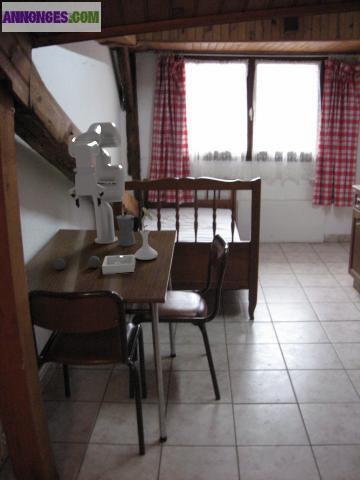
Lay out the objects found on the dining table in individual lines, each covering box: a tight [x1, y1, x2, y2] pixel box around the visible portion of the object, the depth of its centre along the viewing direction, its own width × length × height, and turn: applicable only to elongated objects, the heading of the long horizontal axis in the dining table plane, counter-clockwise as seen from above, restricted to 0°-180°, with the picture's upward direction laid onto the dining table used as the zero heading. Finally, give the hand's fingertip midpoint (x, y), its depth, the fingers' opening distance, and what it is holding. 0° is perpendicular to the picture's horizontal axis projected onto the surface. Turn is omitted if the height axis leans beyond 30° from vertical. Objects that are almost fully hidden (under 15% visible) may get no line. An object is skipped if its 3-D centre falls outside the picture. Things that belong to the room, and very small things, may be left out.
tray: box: [101, 254, 136, 275], centre depth 220 cm, size 14×14×4 cm
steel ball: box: [113, 254, 125, 265], centre depth 219 cm, size 6×6×6 cm
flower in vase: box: [134, 206, 159, 261], centre depth 231 cm, size 13×11×25 cm
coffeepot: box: [114, 211, 141, 247], centre depth 254 cm, size 15×9×18 cm, turn 62°
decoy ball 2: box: [87, 255, 101, 269], centre depth 222 cm, size 6×6×6 cm
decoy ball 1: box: [53, 257, 67, 270], centre depth 222 cm, size 6×6×6 cm
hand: (88, 206), depth 225 cm, fingers open, 9 cm apart
